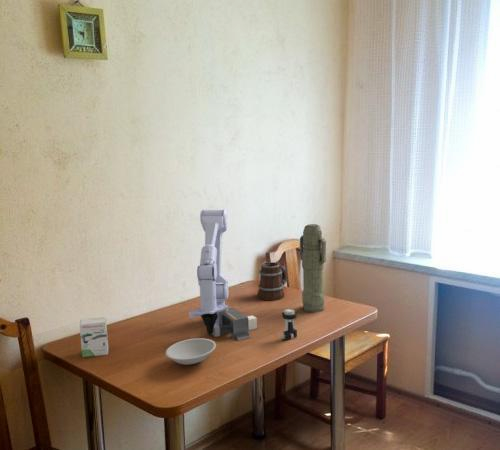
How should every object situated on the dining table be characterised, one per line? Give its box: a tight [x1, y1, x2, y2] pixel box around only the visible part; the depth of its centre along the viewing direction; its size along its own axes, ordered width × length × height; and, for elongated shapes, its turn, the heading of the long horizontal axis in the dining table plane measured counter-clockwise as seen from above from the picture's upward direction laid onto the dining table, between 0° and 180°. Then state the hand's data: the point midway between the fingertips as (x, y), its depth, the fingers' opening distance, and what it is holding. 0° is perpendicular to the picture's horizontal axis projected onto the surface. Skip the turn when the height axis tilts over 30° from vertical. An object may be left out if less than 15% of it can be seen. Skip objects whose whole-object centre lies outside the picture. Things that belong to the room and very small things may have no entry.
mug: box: [257, 261, 288, 302], centre depth 231 cm, size 16×12×15 cm
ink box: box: [79, 316, 109, 358], centre depth 174 cm, size 9×5×12 cm, turn 103°
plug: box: [211, 315, 258, 338], centre depth 190 cm, size 4×17×4 cm, turn 116°
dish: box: [165, 337, 217, 366], centre depth 164 cm, size 18×14×5 cm
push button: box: [280, 308, 298, 341], centre depth 182 cm, size 7×5×10 cm
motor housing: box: [218, 307, 252, 341], centre depth 190 cm, size 18×6×7 cm, turn 26°
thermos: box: [299, 223, 327, 313], centre depth 210 cm, size 9×12×35 cm
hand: (209, 333), depth 186 cm, fingers closed
